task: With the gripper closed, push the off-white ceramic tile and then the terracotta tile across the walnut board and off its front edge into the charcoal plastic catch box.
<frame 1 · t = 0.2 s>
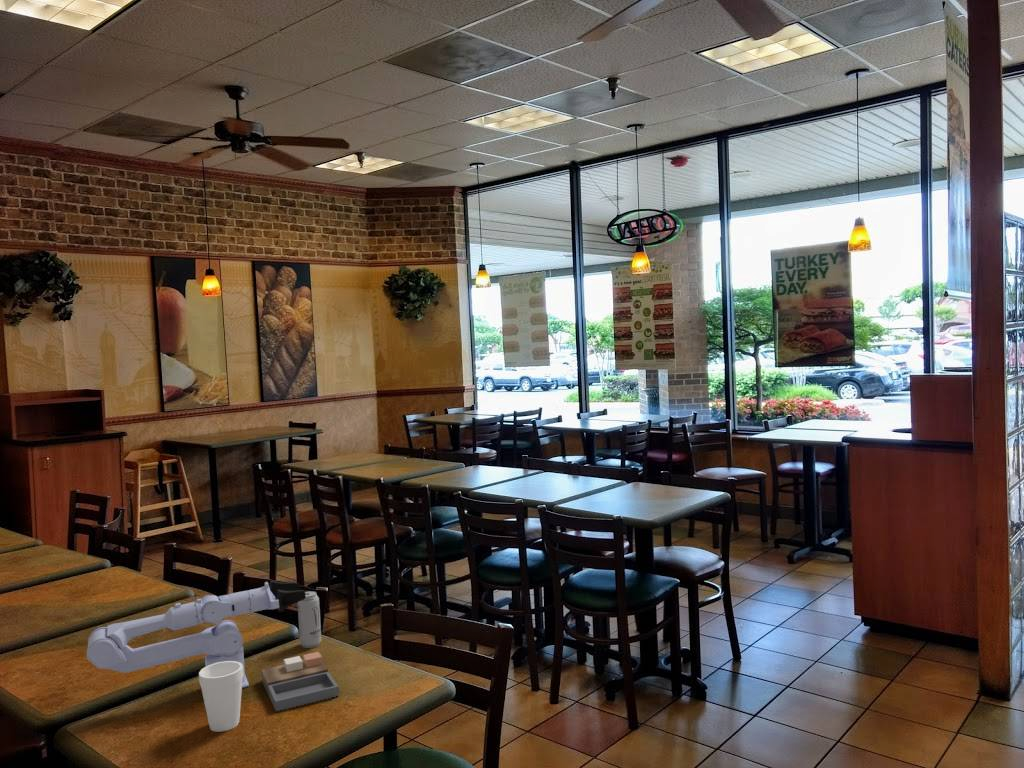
hand: (301, 590, 206), 21 cm above the table, tool horizontal, fingers open, 7 cm apart
tile b: (313, 663, 202), point 3 cm above the table, touching board
catch box: (303, 695, 190), on the table
tile a: (293, 667, 200), point 3 cm above the table, touching board
board: (295, 680, 199), on the table
foam cup: (224, 725, 176), on the table
energy drink can: (310, 645, 223), on the table
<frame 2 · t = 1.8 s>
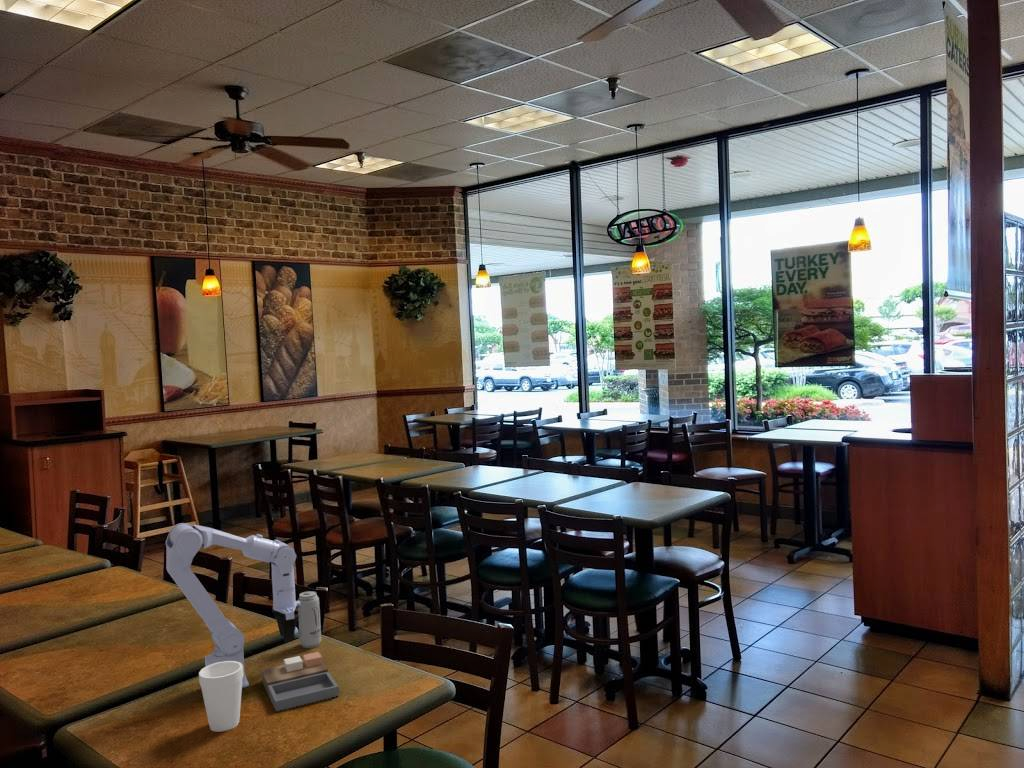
hand: (286, 638, 206), 8 cm above the table, tool pointing down, fingers open, 5 cm apart
nothing on the table moved.
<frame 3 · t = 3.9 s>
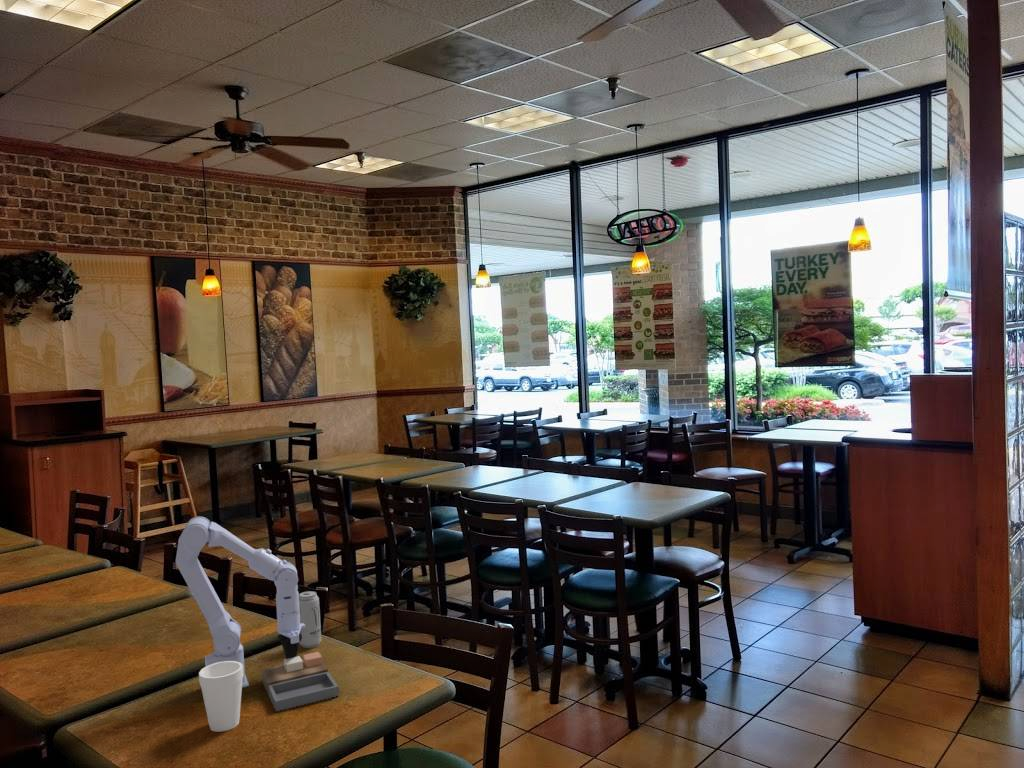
hand: (291, 661, 202), 4 cm above the table, tool pointing down, fingers closed
tile a: (293, 667, 199), point 3 cm above the table, touching gripper
everything else where it was.
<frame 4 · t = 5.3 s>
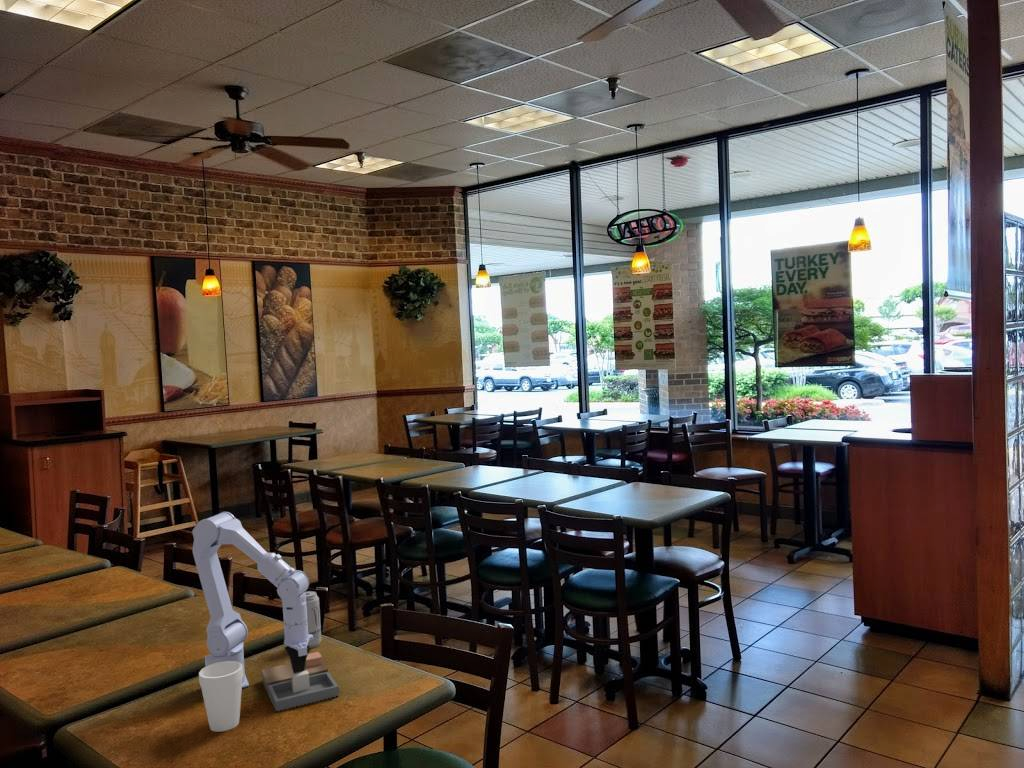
hand: (298, 674, 194), 4 cm above the table, tool pointing down, fingers closed
tile a: (299, 679, 193), point 3 cm above the table, tilted 91°, touching catch box, gripper
everything else where it was.
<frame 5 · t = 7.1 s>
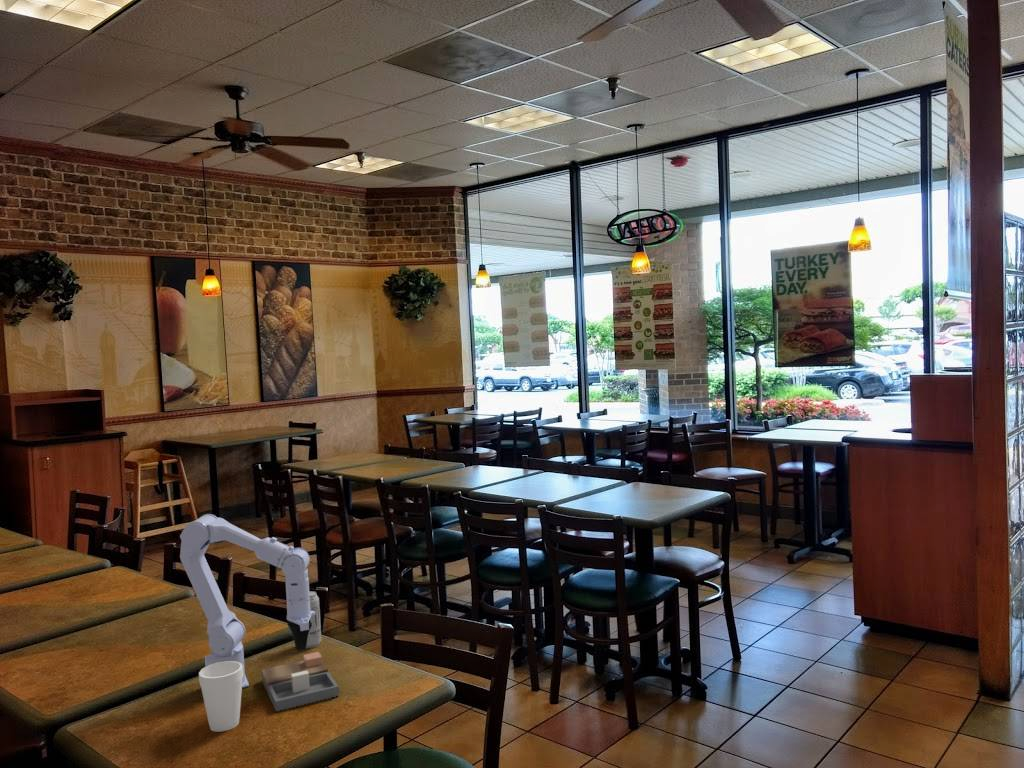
hand: (301, 649, 198), 8 cm above the table, tool pointing down, fingers closed
tile a: (299, 680, 193), point 2 cm above the table, tilted 90°, touching catch box
everything else where it was.
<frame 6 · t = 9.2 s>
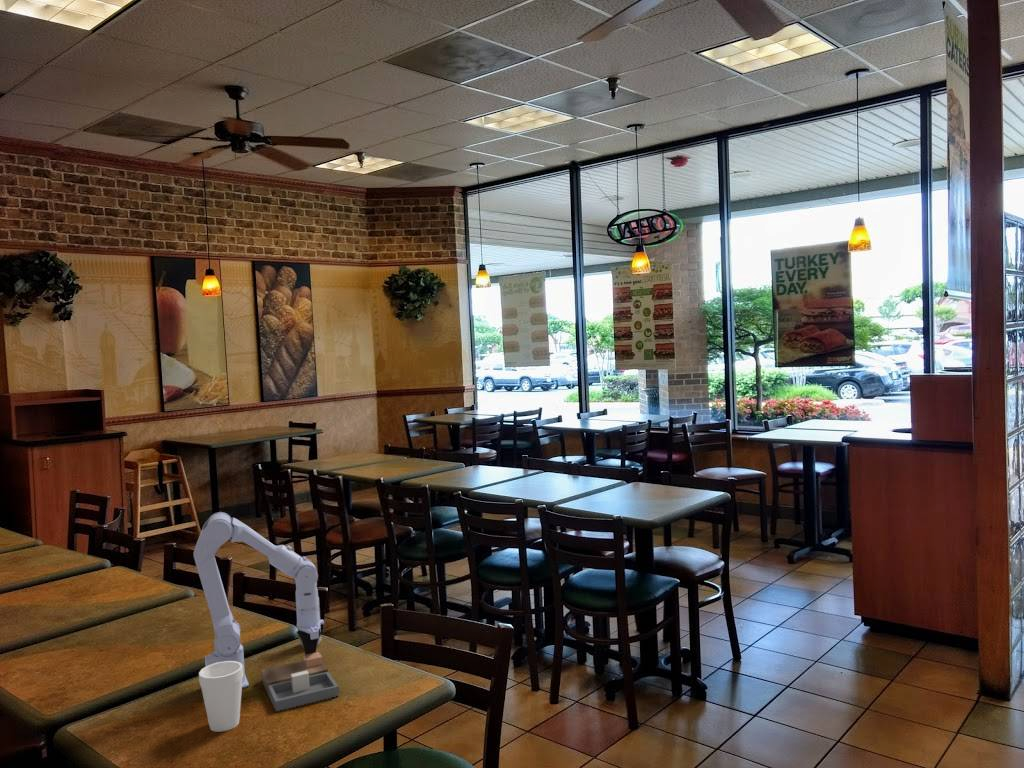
hand: (310, 657, 204), 4 cm above the table, tool pointing down, fingers closed
tile b: (313, 663, 202), point 3 cm above the table, touching gripper
everything else where it was.
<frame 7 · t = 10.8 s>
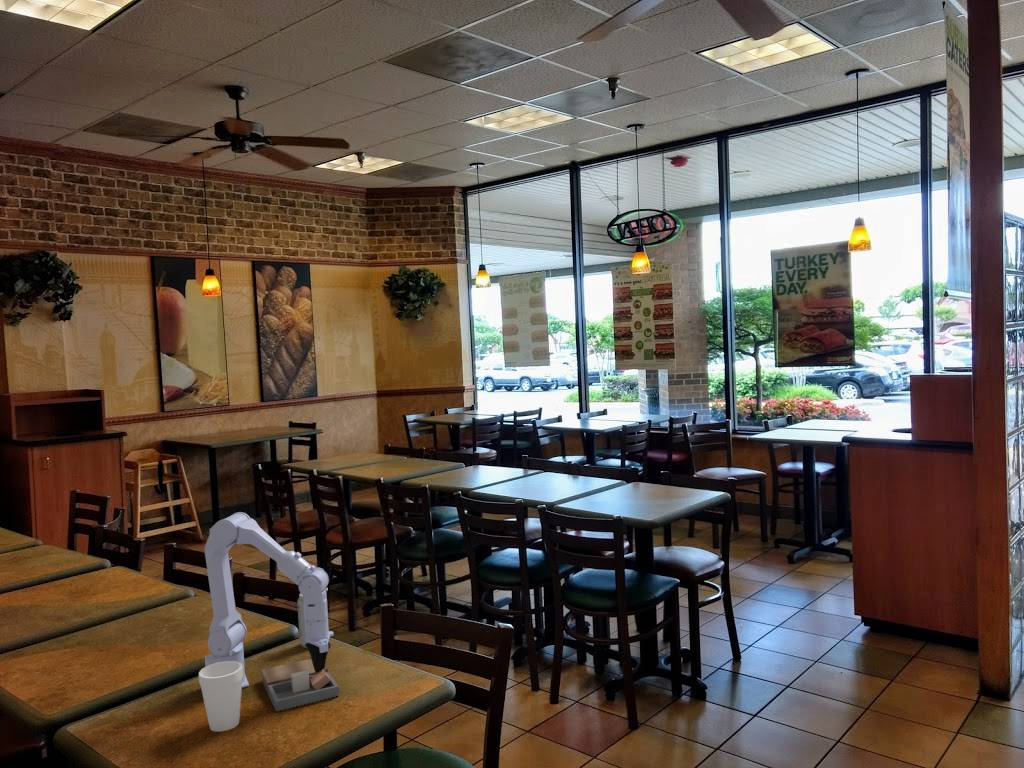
hand: (319, 670, 195), 4 cm above the table, tool pointing down, fingers closed
tile b: (322, 682, 193), point 2 cm above the table, tilted 30°, touching gripper
everything else where it was.
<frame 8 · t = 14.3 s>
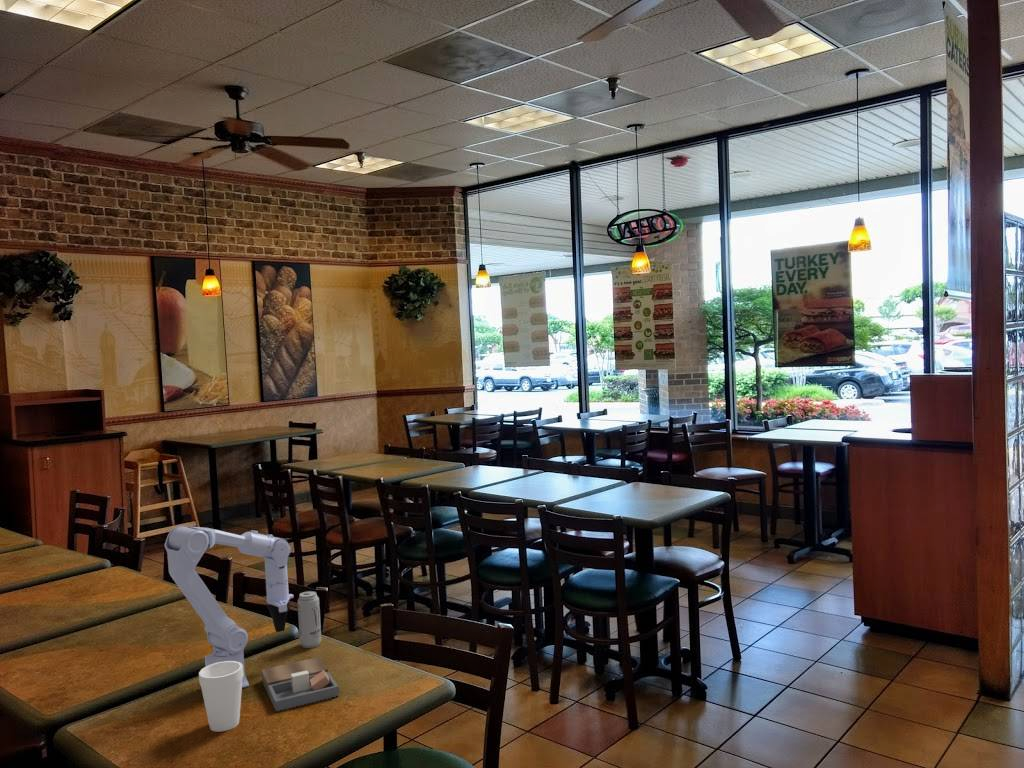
hand: (279, 630, 209), 9 cm above the table, tool pointing down, fingers closed
tile b: (322, 684, 192), point 2 cm above the table, tilted 29°, touching catch box
everything else where it was.
at the end: tile a inside the target area (4.5 cm from its centre), point 2.5 cm above the table; tile b inside the target area (4.9 cm from its centre), point 1.5 cm above the table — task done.
